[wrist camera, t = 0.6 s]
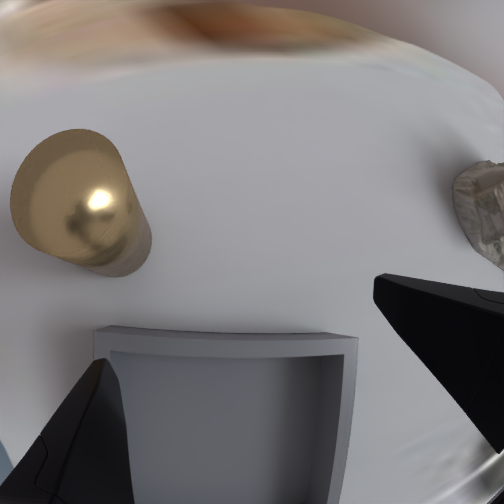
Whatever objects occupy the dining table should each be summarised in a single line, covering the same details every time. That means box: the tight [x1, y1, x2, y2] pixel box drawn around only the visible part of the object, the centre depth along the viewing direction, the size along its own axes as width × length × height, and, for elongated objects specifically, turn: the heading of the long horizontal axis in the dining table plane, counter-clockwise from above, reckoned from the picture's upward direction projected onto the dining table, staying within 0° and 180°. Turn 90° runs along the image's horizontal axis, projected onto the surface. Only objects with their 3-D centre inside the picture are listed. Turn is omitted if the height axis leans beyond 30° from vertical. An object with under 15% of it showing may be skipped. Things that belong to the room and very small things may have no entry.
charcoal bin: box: [94, 325, 358, 504], centre depth 18 cm, size 16×16×4 cm
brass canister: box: [10, 129, 152, 277], centre depth 16 cm, size 5×5×11 cm
